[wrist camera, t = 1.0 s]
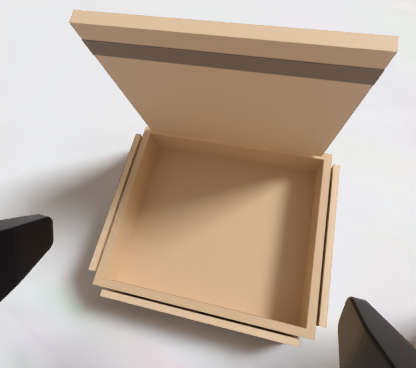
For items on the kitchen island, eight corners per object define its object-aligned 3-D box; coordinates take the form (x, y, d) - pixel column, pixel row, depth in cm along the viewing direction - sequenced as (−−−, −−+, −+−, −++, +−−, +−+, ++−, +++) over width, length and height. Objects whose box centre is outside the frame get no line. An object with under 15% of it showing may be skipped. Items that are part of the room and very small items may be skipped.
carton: (311, 346, 20) (324, 353, 17) (101, 292, 22) (80, 290, 19) (328, 172, 24) (340, 155, 21) (149, 144, 27) (139, 125, 24)
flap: (321, 156, 21) (397, 52, 10) (152, 131, 23) (68, 22, 12) (322, 147, 21) (398, 35, 10) (154, 123, 23) (73, 9, 12)
